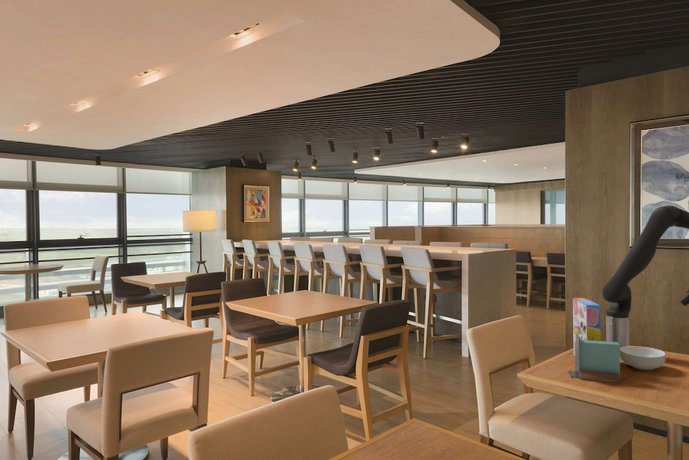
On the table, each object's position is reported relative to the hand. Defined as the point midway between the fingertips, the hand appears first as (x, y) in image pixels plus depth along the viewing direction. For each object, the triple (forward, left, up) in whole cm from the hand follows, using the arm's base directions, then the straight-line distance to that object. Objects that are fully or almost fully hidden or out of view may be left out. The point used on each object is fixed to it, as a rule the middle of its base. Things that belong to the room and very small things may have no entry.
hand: (682, 304), depth 179 cm
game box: (-16, -31, -30) cm, 46 cm away
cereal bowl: (-14, -10, -30) cm, 35 cm away
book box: (+4, -30, -30) cm, 43 cm away
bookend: (+4, -39, -30) cm, 49 cm away
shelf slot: (+4, -31, -30) cm, 43 cm away
